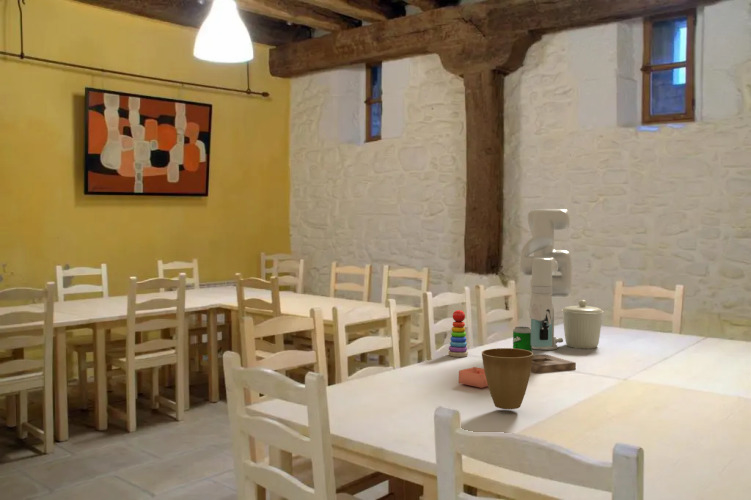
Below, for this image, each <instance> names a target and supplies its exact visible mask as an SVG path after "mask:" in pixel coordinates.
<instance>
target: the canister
mask: <svg viewBox="0 0 751 500" xmlns="http://www.w3.org/2000/svg"><path fill="white" fill-rule="evenodd" d="M587 303H588V302H587V300H585V299H580V300H579V301H577V304H578V305H567V306H565V307H564V308H562V309H561V310H560V311H561V312H562V319H563V332H564V338H565V339H564V340H565V343H566V346H567V347H569V348H572V347H573V348H572V349H579V348H583V349H582V350H590V349H589V348H592V349H596V348H597V347H598V346H599V342H600V337H601V330H602V329H601V328H602V322H603V314H604V313H605V311H604V310H602V309H601V308H600V307H596V306H590V305H589V306H588V305H587ZM585 348H587V349H585Z"/></svg>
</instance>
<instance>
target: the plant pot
mask: <svg viewBox="0 0 751 500" xmlns="http://www.w3.org/2000/svg"><path fill="white" fill-rule="evenodd" d="M533 355H534V353H533V352H531V351H528V350H523V349H514V348H513V347H512V348H511V347H509V348H508V347H504V348H502V347H500V348H499V347H496V348H489V349H485V350H482V351H481V359H482V364H483V369H484V371H485V376H486V380H487V384H488V386H487V387H488V389H489V393H490V396H491V399H492V402H493V404H494V406H495V408H498V409H501V410H515V409H516V410H517V409H519V408H521V405H522V403H523V400H524V398H525V395H526V392H527V388H528V385H529V381H530V377H531V373H532V372H531V367H532V360H533Z"/></svg>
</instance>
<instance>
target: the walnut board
mask: <svg viewBox="0 0 751 500" xmlns="http://www.w3.org/2000/svg"><path fill="white" fill-rule="evenodd" d="M576 366H577V363H576V362H575V361H572V360H567V359H563V358H559V357H556V356H552V355H549V354H547V353H546V354H533V360H532V367H531V372H530V373H534V374H541V373H552V372H563V371H572V370H576V369H577V368H576Z"/></svg>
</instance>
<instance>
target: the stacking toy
mask: <svg viewBox="0 0 751 500" xmlns="http://www.w3.org/2000/svg"><path fill="white" fill-rule="evenodd" d="M465 318H466V313H465V312H464V311H463V310H461V309H457V310H455V311H454V312H453V313H452V319H453V320H454V321H453V322H452V327H451V332H450V334H451V336H450V337H449V338H450V342H449V347H448V356H450V357H453V358H464V357H465V358H466V357H467V356H468V354H469V353H468V347H467V346H468V343H467V337H466V336H467V333H466V327H465V326H466V323H465V322H464V321H465Z"/></svg>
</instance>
